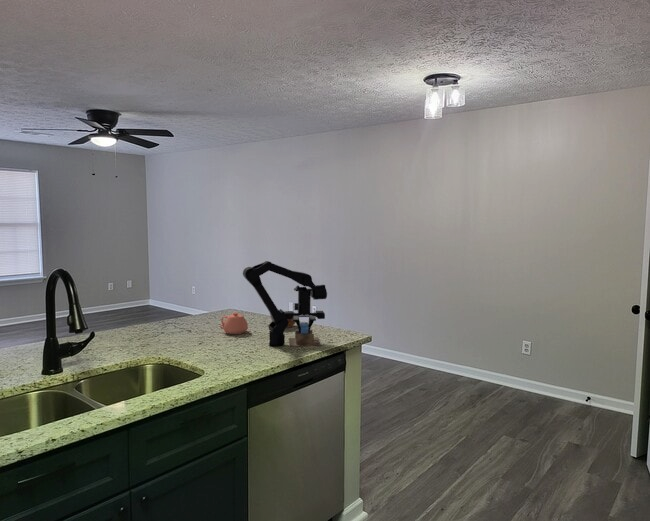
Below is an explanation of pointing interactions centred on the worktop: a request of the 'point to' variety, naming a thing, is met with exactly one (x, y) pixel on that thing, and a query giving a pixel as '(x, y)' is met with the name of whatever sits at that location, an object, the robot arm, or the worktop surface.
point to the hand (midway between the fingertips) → (304, 333)
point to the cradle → (304, 340)
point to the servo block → (304, 328)
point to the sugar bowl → (234, 324)
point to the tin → (290, 322)
